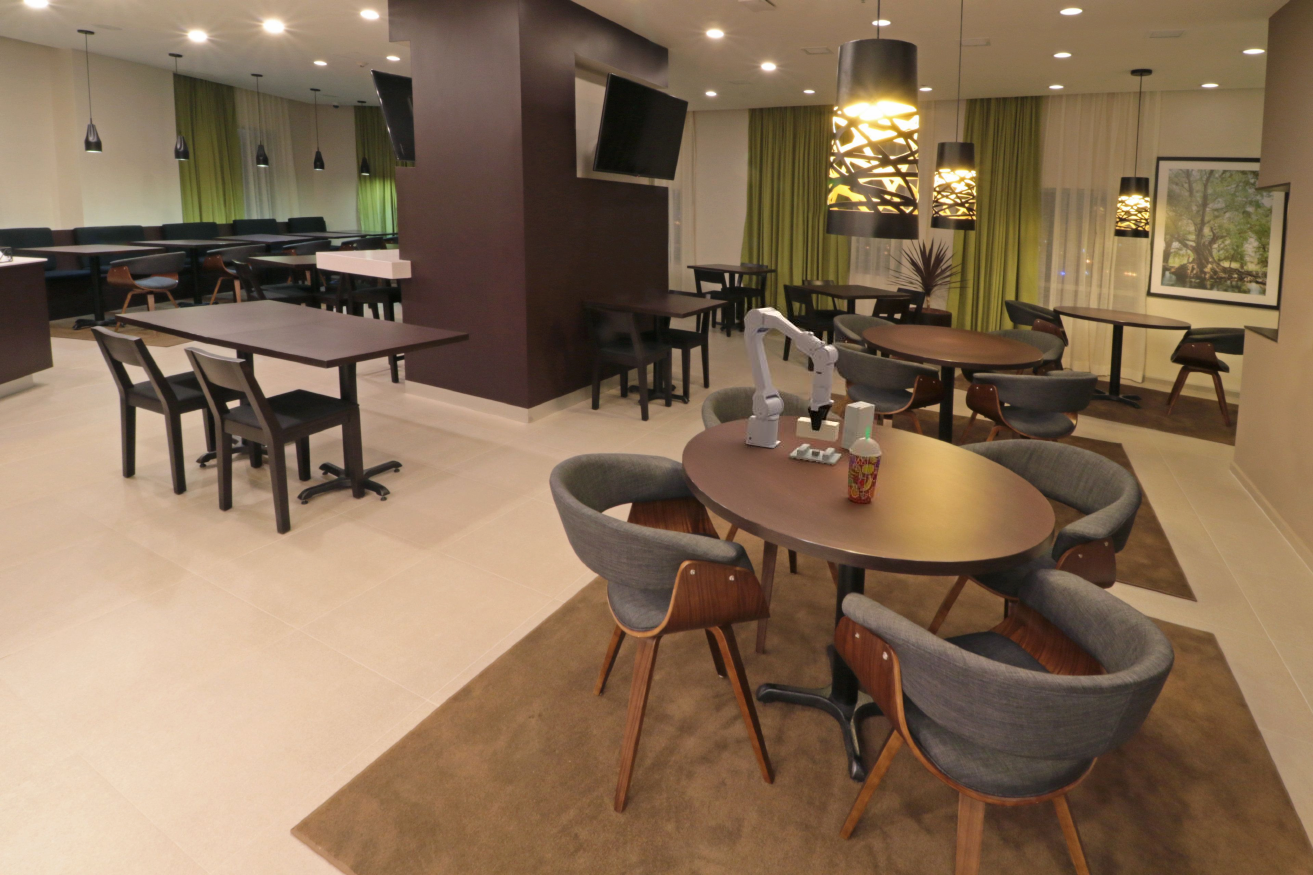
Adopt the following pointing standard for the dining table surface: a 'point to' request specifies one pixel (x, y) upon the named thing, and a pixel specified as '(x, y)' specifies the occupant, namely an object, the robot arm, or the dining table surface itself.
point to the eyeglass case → (825, 433)
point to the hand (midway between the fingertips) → (817, 428)
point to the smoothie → (863, 469)
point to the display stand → (815, 454)
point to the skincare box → (857, 422)
